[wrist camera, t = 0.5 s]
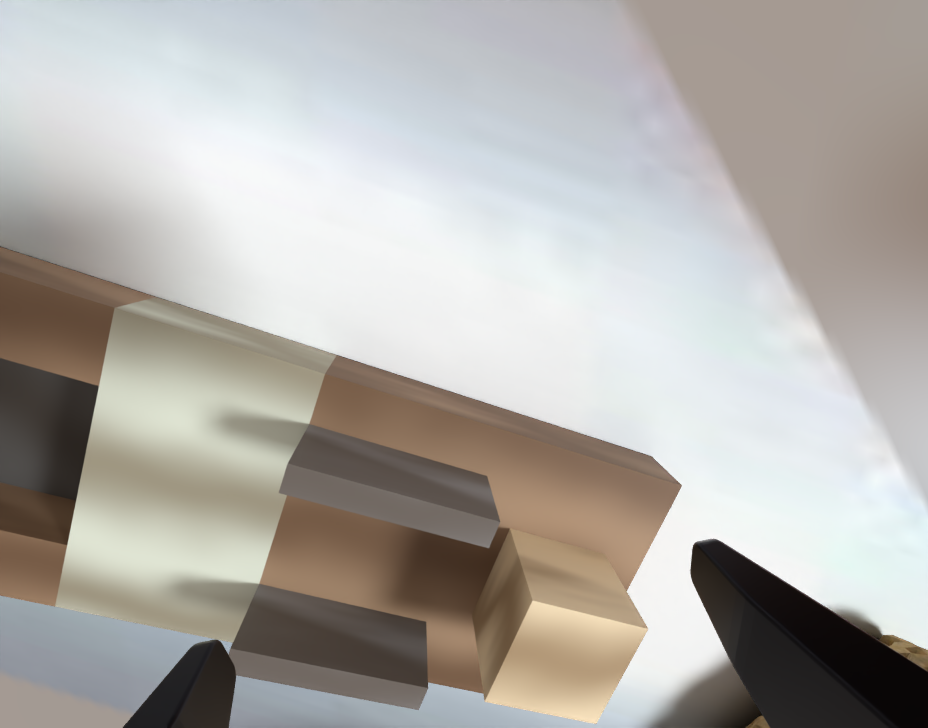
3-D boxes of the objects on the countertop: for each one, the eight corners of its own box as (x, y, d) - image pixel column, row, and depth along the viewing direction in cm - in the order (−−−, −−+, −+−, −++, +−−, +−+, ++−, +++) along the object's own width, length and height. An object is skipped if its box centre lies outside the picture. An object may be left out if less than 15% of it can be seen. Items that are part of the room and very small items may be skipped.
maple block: (564, 635, 24) (595, 723, 20) (472, 614, 23) (484, 701, 19) (604, 554, 23) (648, 628, 19) (509, 528, 22) (532, 600, 18)
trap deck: (549, 661, 28) (586, 782, 22) (-134, 509, 22) (-350, 619, 16) (651, 456, 25) (728, 530, 19) (-108, 212, 19) (-364, 203, 13)
